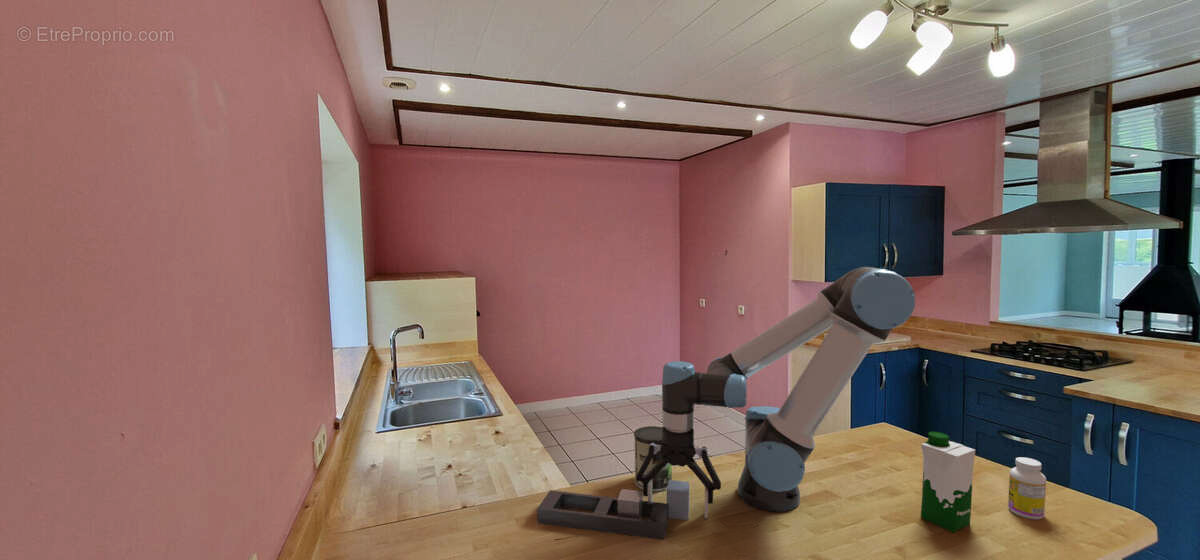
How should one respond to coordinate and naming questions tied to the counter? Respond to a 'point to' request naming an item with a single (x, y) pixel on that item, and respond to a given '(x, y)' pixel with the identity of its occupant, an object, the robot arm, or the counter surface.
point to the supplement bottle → (1027, 489)
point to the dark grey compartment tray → (602, 515)
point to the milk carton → (946, 482)
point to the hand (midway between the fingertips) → (677, 511)
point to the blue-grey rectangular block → (678, 499)
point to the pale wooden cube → (630, 504)
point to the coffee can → (641, 451)
